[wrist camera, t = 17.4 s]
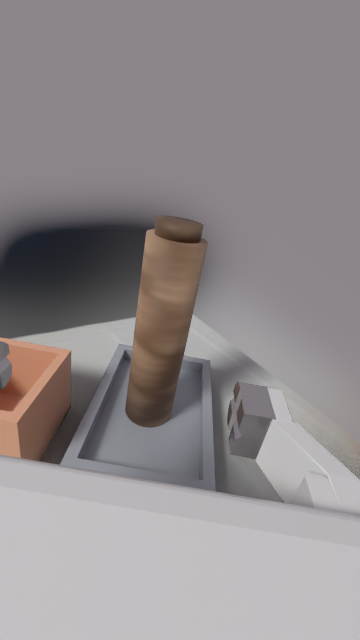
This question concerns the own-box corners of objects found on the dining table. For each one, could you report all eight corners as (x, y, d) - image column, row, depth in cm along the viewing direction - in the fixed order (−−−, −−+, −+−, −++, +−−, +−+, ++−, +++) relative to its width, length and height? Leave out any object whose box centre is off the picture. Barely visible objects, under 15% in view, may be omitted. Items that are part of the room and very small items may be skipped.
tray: (206, 375, 39) (210, 360, 38) (208, 514, 23) (215, 494, 22) (117, 359, 39) (119, 343, 38) (58, 488, 23) (58, 467, 22)
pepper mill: (173, 398, 33) (210, 222, 24) (168, 431, 29) (212, 232, 20) (130, 390, 33) (153, 211, 24) (120, 422, 29) (143, 219, 20)
